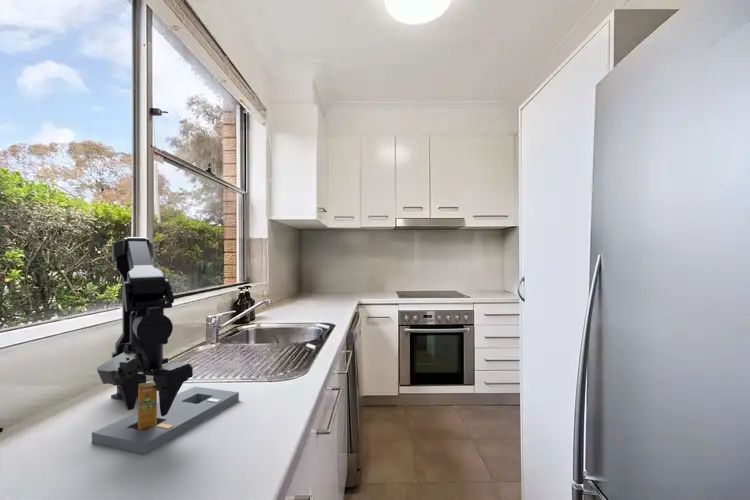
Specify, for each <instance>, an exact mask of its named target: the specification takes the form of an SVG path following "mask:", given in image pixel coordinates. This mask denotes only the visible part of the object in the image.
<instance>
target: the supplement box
mask: <svg viewBox="0 0 750 500" xmlns="http://www.w3.org/2000/svg"><path fill="white" fill-rule="evenodd" d="M154 385H156V384H155V382H154V381H150V382H146V383H141V384H139V385H138V397H137V412H138V430H142V431H146V430H148V429H150V428H152V427H154V426H156V425H157V403H158V391H157V390H156V389H155V388H153V386H154Z"/></svg>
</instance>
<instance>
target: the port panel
mask: <svg viewBox="0 0 750 500" xmlns="http://www.w3.org/2000/svg"><path fill="white" fill-rule="evenodd" d="M239 393H240V392H239V391H231V390H223V389H216V388H209V387H201V386H193V387H191V388H188V389H186V390H183V391H182V392H180V393H179V392H178V393H177V395H176V397H175V399H174V401H173V403H172V405H171V407H170V409H169V411H168V413H167V415H165V416H161V412H160V402H157V425H156V426H154V427H152V428H150V429H148V430H146V431H142V430H138V411H137V412H135V413H133V414H130V415H128V416H126V417H124V418H121V419H119V420H117V421H115V422H112V423H110V424H107V425H106V426H104V427H101V428H99V429H97V430H95V431H92V432H91V444H95V445H99V446H104V447H109V448H111V449H112V448H113V449H117V450H122V451H127V452H131V453H136V454H140V455H148V454H149V453H151V452H152V451H154V450H157V449H158V448H159V447H161V446H163V445H165V444H167V443H168V442H170V441H171V440H173V439H175V438H176V437H178V436H180V435H182V434H184V433H185V432H187V431H189V430H191V429H192V428H194V427H195V426H197V425H199V424H201V423H202V422H204V421H206V420H208V419H210V418H211V417H213V416H215V415H216V414H217V413H219V412H221V411H223V410H225V409H227V408H228V407H230V406H232V405H233V404H235V403H236V402H238V401H239V400H240V394H239ZM197 402H198V403H197Z"/></svg>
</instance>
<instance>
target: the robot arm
mask: <svg viewBox="0 0 750 500" xmlns="http://www.w3.org/2000/svg"><path fill="white" fill-rule="evenodd" d="M153 258H154V244H153V243H152V242H151V241H150V239H149V238H148V237H147V238H146V237H143V236H127V237H123V239H122V240H120V241H118V242H117V241H116V242H114V243H113V244H112V247H111V261H112V262H114V267H115V269H116V270H117V272H118V273H119V275H120V276H121V277H122V279H121V280H122V281H121V282H122V285H121V286H122V291H121V293H122V299H121V300H122V303H121V304H122V305H121V307H122V314H121V315H122V319H121V320H122V325H121V326H122V332H121V335H120V336H119V338H118V339H117V340H116V342H115V343H114V351H112V353H111V358H110V359H109V360H108V361H106V362H104V363H102V364H101V365H99V366H98V367H97V368H96V371H97V374H98V375H99V378H100V380H101V382H102V384H103V385H106V384H109V385H112V386H116V393H114V394H112V395H110V398H112V399H117V400H123V403H124V405H125V408H126V410H127V411H131V410H134V409H135V405H136V402H137V400H138V385H139V384H141V383H147V376H151V377H152V382H155V384H156V385H154V386H153V388H155V389H156V390H157V393H158V398H159V399H158V400H159V402H160V412H161V416H165V415H167V413H168V411H169V409H170V407H171V405H172V403H173V401H174V399H175V397H176V395H177V394H179V391H180V389H181V387H182V386H183V384H184V383H185V382H187V381H188V380H189V379H190V378H192V377H194V376H193V375H194V374H193V372H194V369H193V366H192V364H191V363H188V362H179V361H178V362H177V361H176V362H172V363H170V364H168V363H169V358H168V357H164V345H166V344H169V338H170V336H171V335H172V333H173V328H174V324H173V322H172V321H171V319H170V318H169V317H168V316H167V315H165V313H164V311H165V310H164V309H172V308H173V304H174V303H175V297H174V294H173V288H172V284H170V280H168V279H166V277H165V273H163V271H162V270H161V269H160V268H157V267H155V265H154V262H153ZM163 365H164V366H163ZM159 402H158V403H159Z"/></svg>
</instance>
